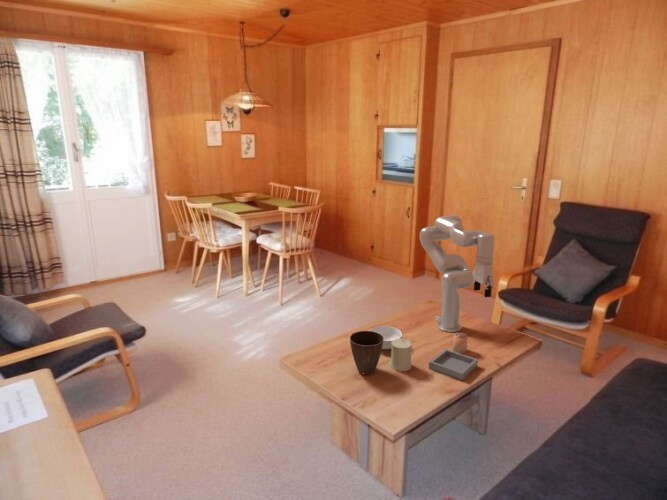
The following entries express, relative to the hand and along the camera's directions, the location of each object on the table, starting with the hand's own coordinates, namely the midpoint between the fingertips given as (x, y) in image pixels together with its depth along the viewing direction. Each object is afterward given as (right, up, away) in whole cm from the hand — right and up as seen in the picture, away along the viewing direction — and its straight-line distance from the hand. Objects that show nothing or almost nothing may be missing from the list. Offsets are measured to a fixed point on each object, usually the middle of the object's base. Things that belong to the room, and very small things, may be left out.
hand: (482, 293), depth 218 cm
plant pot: (-57, -33, -14) cm, 68 cm away
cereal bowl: (-46, -27, +8) cm, 54 cm away
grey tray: (-17, -32, -13) cm, 39 cm away
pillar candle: (-41, -32, -11) cm, 53 cm away
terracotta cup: (-10, -28, +2) cm, 30 cm away
